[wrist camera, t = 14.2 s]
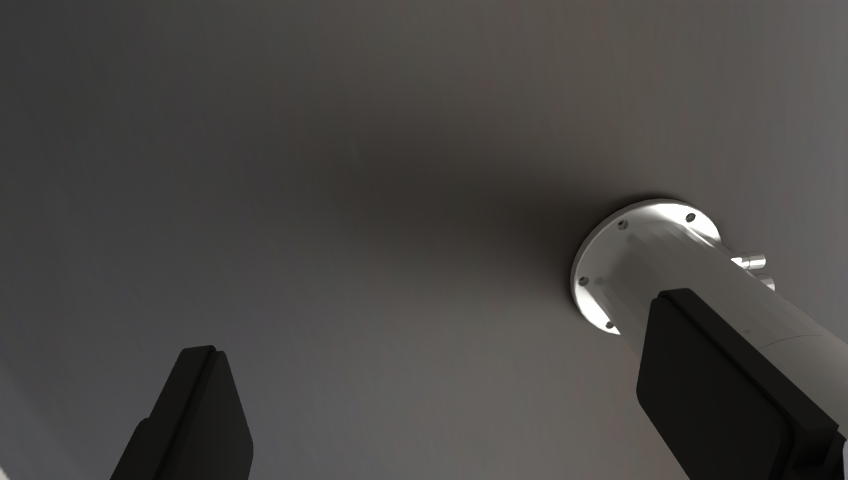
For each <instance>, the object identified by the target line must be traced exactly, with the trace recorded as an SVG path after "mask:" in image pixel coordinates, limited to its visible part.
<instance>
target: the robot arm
mask: <svg viewBox="0 0 848 480" xmlns="http://www.w3.org/2000/svg"><path fill="white" fill-rule="evenodd" d="M764 265H765V257H764V255H763V254H762V253H761V252H759V251H754V252H745V253H741V254H734V253H733V252H732V251H730V250H729V249H727V248H726V247H725V246H723V245H722V244H721V238H720V235H719V233H718V230H717V228H716V226H715V225H714V224H713V222H712V221H711V220H710V218H709V217H708V216H706V215H705V214H704V213H702V212H701V211H700V210H698V209H697V208H695V207H693V206H691V205H690V204H688V203H685V202H682V201H678V200H675V199H662V198H660V199H651V200H645V201H641V202H638V203H634V204H631V205H629V206H627V207H624V208H622V209H620V210H618V211H616V212H615V213H613V214H612V215H610V216H609V217H607V218H606V219H604V220H603V221H602V222H601V223H600V224H599V225H598V226H597V227H596V228H594V229H593V230H592V231H591V233H590V234H589V235H588V237H587V238H586V239H585V240H584V242H583V243H582V245H581V247H580V248H579V250H578V252H577V254H576V256H575V259H574V262H573V265H572V269H571V276H570V286H571V293H572V296H573V299H574V302H575V304H576V305H577V307H578V309H579V310H580V312H581V313H582V314H583V316H584V317H585V318H586V319H587V320H588V321H589V322H590V323H591V324H593V325H594V326H595V327H597V328H599V329H601V330H603V331H606V332H609V333H614V334H618V335H621V336H622V337H623V338H624V340H625V341H626V342H627V344H628V345H629V346H630V348H631V349H632V350H633V352H634V353H635V354H636V356H637V357H638V358H639V360H640V361H641V364H640V370H639V376H638V382H637V388H636V392H637V398H638V401H639V403H640V405H641V407H642V408H643V410H644V411H645V413H646V414H647V416H648V417H649V419H650V420H651V422H652V423H653V425H654V426H655V428H656V429H657V431H658V432H659V434H660V435H661V437H662V438H663V440H664V441H665V443H666V444H667V446H668V447H669V449H670V450H671V452H672V453H673V455H674V456H675V458H676V459H677V461H678V462H679V464H680V465H681V467H682V468H683V470H684V471H685V473H686V474H687V476H688V477H689V479H690V480H848V345H847V344H845V343H844V342H843V341H841V340H840V339H839V338H837V337H836V336H834V335H833V334H832V333H830V332H829V331H828V330H826V329H825V328H824V327H822V326H821V325H820V324H818V323H817V322H816V321H814V320H813V319H811V318H810V317H809V316H807V315H806V314H805V313H803V312H802V311H801V310H799V309H798V308H797V307H795V306H794V305H793V304H791V303H790V302H788V301H787V300H786V299H784V298H783V297H782V296H780V295H779V294H778V293H776V292H775V291H774V282H773V280H772V278H771V277H770V276H769V275H768V274H766V273H760V274H751V273H749V272H748V271H746V270H749V269H758V268H762V267H764ZM252 459H253V441H252V438H251V434H250V431H249V428H248V425H247V421H246V418H245V415H244V412H243V409H242V405H241V402H240V399H239V396H238V392H237V389H236V386H235V383H234V379H233V376H232V373H231V370H230V367H229V363H228V360H227V357H226V354H225V353H224V351H217V350H216V348H215V347H214V346H212V345H208V346H200V347H192V348H185V349H183V350H182V351H181V353H180V355H179V357H178V359H177V361H176V363H175V365H174V367H173V369H172V371H171V373H170V375H169V377H168V379H167V381H166V384H165V386H164V388H163V390H162V392H161V394H160V396H159V398H158V400H157V402H156V404H155V406H154V408H153V410H152V412H151V414H150V416H149V418H145V419H143V420H142V421H141V422H140V423H139V424H138V426H137V427H136V429H135V431H134V433H133V435H132V437H131V439H130V441H129V443H128V445H127V447H126V449H125V451H124V453H123V455H122V457H121V459H120V461H119V463H118V465H117V467H116V469H115V471H114V472H113V474H112V476H111V478H110V480H248V477H249V473H250V468H251V464H252Z"/></svg>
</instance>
